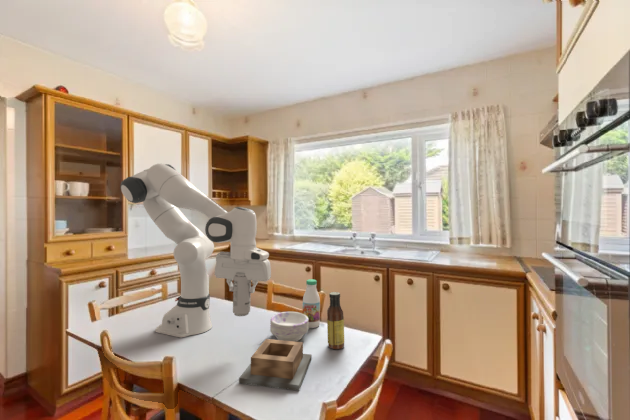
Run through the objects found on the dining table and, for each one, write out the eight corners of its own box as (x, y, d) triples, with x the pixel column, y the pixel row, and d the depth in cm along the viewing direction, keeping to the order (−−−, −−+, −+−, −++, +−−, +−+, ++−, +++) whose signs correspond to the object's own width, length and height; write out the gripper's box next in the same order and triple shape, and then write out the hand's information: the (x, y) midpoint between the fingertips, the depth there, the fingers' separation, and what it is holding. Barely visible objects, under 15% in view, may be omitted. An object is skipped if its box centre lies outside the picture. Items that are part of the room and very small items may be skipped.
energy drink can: (249, 316, 100) (250, 273, 100) (231, 317, 99) (232, 273, 99) (250, 310, 106) (251, 269, 106) (234, 310, 105) (235, 269, 105)
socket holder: (239, 383, 84) (239, 360, 84) (261, 353, 102) (261, 335, 102) (299, 390, 81) (299, 367, 81) (311, 358, 98) (311, 339, 98)
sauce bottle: (346, 344, 110) (346, 291, 110) (342, 351, 104) (342, 296, 104) (329, 341, 112) (330, 290, 112) (324, 348, 106) (325, 294, 106)
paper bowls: (303, 348, 106) (303, 326, 106) (264, 344, 109) (264, 323, 109) (312, 331, 121) (312, 312, 121) (277, 328, 124) (277, 309, 124)
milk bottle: (302, 322, 131) (302, 278, 132) (318, 321, 132) (319, 278, 132) (302, 329, 124) (303, 282, 124) (320, 328, 124) (321, 282, 125)
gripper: (211, 252, 101) (210, 291, 101) (267, 255, 97) (265, 296, 97) (220, 250, 107) (219, 287, 107) (273, 253, 104) (272, 291, 104)
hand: (242, 291), depth 102 cm, fingers closed on energy drink can, 6 cm apart
